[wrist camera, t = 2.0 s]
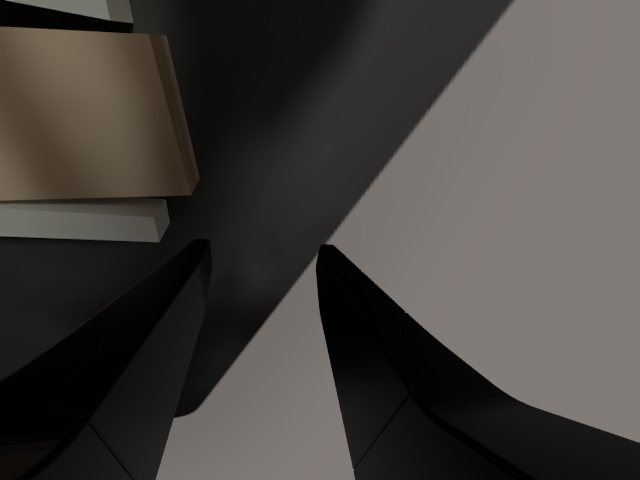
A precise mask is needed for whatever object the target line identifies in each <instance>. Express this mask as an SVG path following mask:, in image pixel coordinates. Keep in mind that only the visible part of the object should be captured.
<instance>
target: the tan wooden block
mask: <svg viewBox="0 0 640 480" xmlns="http://www.w3.org/2000/svg"><path fill="white" fill-rule="evenodd" d="M199 179H200V177H199V173H198V168H197V164H196V160H195V156H194V151H193V147H192V143H191V139H190V134H189V130H188V126H187V122H186V117H185V113H184V109H183V105H182V100H181V96H180V92H179V88H178V83H177V79H176V75H175V71H174V66H173V62H172V58H171V54H170V49H169V45H168V41H167V36H166V35H151V34H132V33H113V32H94V31H75V30H57V29H38V28H19V27H0V201H1V200H38V199H75V198H112V197H149V196H186V195H192V193H193V191H194V189H195V187H196V185H197V183H198V181H199Z"/></svg>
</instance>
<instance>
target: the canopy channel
mask: <svg viewBox="0 0 640 480" xmlns="http://www.w3.org/2000/svg"><path fill="white" fill-rule="evenodd" d="M7 1H12V2H17V3H22V4H28V5H33V6H38V7H43V8H48V9H53V10H59V11H64V12H69V13H74V14H79V15H84V16H90V17H95V18H100V19H105V20H110V21H119V22H127V23H133V18H132V13H131V7H130V2H129V0H7ZM169 224H170V220H169V215H168V209H167V204H166V199H155V198H141V197H112V198H75V199H38V200H1V201H0V236H11V237H36V238H62V239H88V240H114V241H139V242H160V240H161V238H162V236H163V235H164V233H165V231H166V229H167V227H168V225H169Z"/></svg>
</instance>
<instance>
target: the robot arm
mask: <svg viewBox="0 0 640 480" xmlns="http://www.w3.org/2000/svg"><path fill="white" fill-rule="evenodd" d="M211 269H212V255H211V244H210V241H209V240H208V239H194V240H193V241H191V242H190V243H189V244H187V245H186V246H185V247H183V248H182V249H181V250H179V251H178V252H177V253H175V254H174V255H173V256H172V257H170V258H169V259H168V260H166V261H165V262H164V263H162V264H161V265H160V266H158V267H157V268H156V269H154V270H153V271H152V272H150V273H149V274H148V275H146V276H145V277H144V278H143V279H141V280H140V281H139V282H137V283H136V284H135V285H133V286H132V287H131V288H129V289H128V290H127V291H125V292H124V293H123V294H121V295H120V296H119V297H118V298H116V299H115V300H114V301H112V302H111V303H110V304H108V305H107V306H106V307H104V308H103V309H102V310H100V311H99V312H98V313H96V314H95V315H94V318H90V319H88V320H87V321H86V322H84V323H83V324H82V325H80V326H79V327H78V328H76V329H75V330H74V331H72V332H71V333H70V334H68V335H67V336H66V337H64V338H63V339H61V340H60V341H59V342H57V343H56V344H55V345H53V346H52V347H50V348H49V349H48V350H46V351H45V352H43V353H42V354H40V355H39V356H37V357H36V358H34V359H33V360H31V361H30V362H28V363H27V364H26V365H24V366H23V367H21V368H20V369H18V370H17V371H15V372H14V373H12V374H11V375H9V376H8V377H6V378H5V379H3V380H1V381H0V480H155V479H156V476H157V473H158V469H159V466H160V463H161V459H162V456H163V452H164V449H165V445H166V442H167V439H168V435H169V432H170V428H171V425H172V422H173V419H174V415H175V412H176V408H177V405H178V402H179V398H180V395H181V391H182V388H183V385H184V381H185V378H186V375H187V371H188V368H189V364H190V361H191V358H192V354H193V351H194V347H195V344H196V341H197V337H198V334H199V330H200V327H201V324H202V320H203V316H204V313H205V307H206V301H207V295H208V289H209V282H210V276H211ZM316 276H317V287H318V299H319V309H320V316H321V321H322V325H323V330H324V334H325V339H326V344H327V349H328V354H329V358H330V363H331V368H332V372H333V377H334V382H335V386H336V390H337V396H338V400H339V405H340V410H341V414H342V418H343V424H344V428H345V433H346V438H347V442H348V447H349V451H350V456H351V461H352V466H353V469H354V475H355V480H640V443H638V442H635V441H633V440H630V439H627V438H624V437H621V436H618V435H615V434H612V433H609V432H606V431H603V430H600V429H597V428H594V427H591V426H588V425H585V424H582V423H579V422H576V421H573V420H570V419H568V418H565V417H561V416H559V415H556V414H552V413H549V412H547V411H544V410H541V409H538V408H535V407H532V406H530V405H527V404H525V403H523V402H521V401H519V400H517V399H515V398H513V397H511V396H510V395H508V394H506V393H505V392H503V391H502V390H500V389H499V388H498V387H496V386H495V385H494V384H492V383H491V382H490V381H489V380H487V379H486V378H485V377H483V376H482V375H481V374H480V373H478V372H477V371H476V370H474V369H473V368H472V367H471V366H469V365H468V364H467V363H466V362H464V361H463V360H462V359H461V358H459V357H458V356H457V355H456V354H454V353H453V352H452V351H451V350H449V349H448V348H447V347H445V346H444V345H443V344H442V343H441V342H440V341H438V340H437V339H436V338H435V337H433V336H432V335H431V334H430V333H429V332H428V331H427V330H425V329H424V328H423V327H422V326H421V325H420V324H419V323H418V322H416V321H415V320H414V319H413V318H412V317H411V316H410V315H409V314H408V313H405V311H404V310H403V309H402V308H401V307H400V306H399V305H398V304H397V303H395V301H394V300H392V299H391V298H390V297H389V296H388V295H387V294H386V293H385V292H384V291H383V290H382V289H381V288H379V287H378V286H377V285H376V284H375V283H374V282H373V281H372V280H371V279H370V278H368V276H366V275H365V274H364V273H363V272H362V271H361V270H360V269H359V268H358V267H357V266H356V265H355V264H353V263H352V262H351V261H350V260H349V259H348V258H347V257H346V256H345V255H344V254H343V253H342V252H340V251H339V250H338V249H337V248H336V247H335V246H334V245H328V244H322V245H321V246H320V248H319V253H318V258H317V263H316Z"/></svg>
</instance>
